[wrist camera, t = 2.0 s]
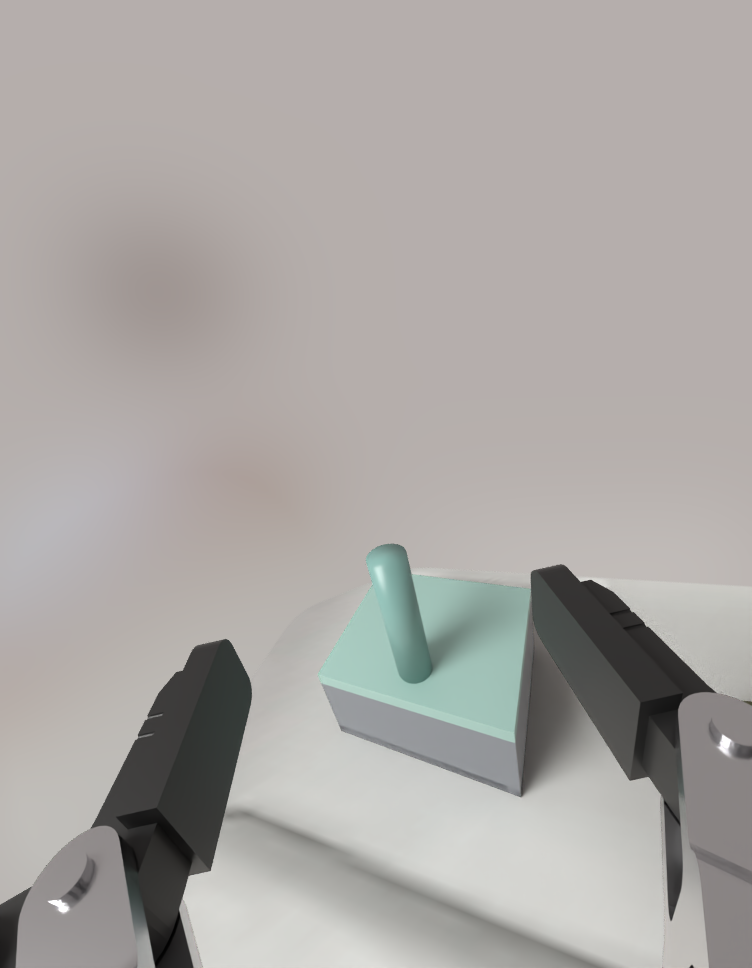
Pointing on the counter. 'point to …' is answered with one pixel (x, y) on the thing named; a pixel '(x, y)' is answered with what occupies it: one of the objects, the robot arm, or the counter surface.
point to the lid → (435, 646)
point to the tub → (441, 734)
